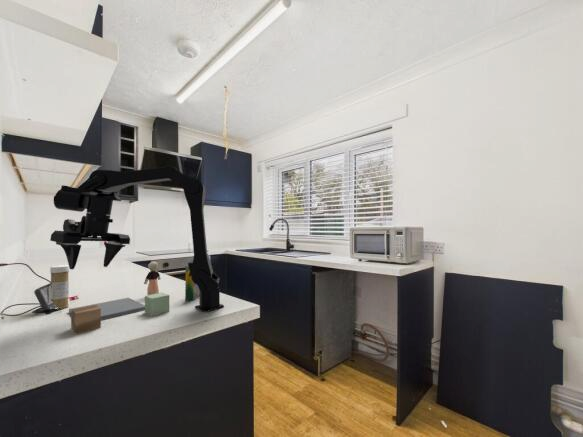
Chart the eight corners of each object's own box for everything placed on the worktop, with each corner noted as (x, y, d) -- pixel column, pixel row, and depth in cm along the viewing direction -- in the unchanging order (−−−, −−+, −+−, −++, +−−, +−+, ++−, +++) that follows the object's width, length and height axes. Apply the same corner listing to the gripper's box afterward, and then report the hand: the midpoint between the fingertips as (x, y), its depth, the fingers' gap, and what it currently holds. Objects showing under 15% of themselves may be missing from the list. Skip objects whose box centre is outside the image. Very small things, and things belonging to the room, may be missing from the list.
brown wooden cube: (100, 328, 67) (100, 308, 67) (75, 334, 64) (75, 313, 64) (95, 323, 71) (95, 304, 71) (71, 329, 67) (71, 309, 67)
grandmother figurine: (152, 299, 94) (152, 262, 94) (142, 299, 94) (142, 263, 94) (163, 293, 101) (163, 260, 102) (153, 293, 102) (153, 260, 102)
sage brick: (169, 311, 80) (169, 295, 80) (151, 316, 76) (151, 298, 76) (162, 308, 83) (161, 292, 83) (144, 312, 79) (144, 295, 79)
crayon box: (193, 300, 91) (193, 266, 91) (184, 300, 91) (184, 266, 91) (201, 295, 98) (201, 263, 99) (193, 295, 98) (193, 263, 99)
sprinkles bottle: (54, 306, 86) (54, 265, 86) (71, 305, 87) (71, 264, 88) (46, 311, 82) (47, 267, 82) (64, 309, 83) (65, 266, 83)
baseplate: (146, 309, 82) (146, 306, 82) (82, 324, 70) (82, 320, 70) (128, 300, 92) (128, 297, 92) (68, 312, 80) (68, 309, 80)
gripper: (110, 215, 89) (102, 261, 88) (42, 207, 71) (31, 265, 70) (134, 218, 85) (126, 267, 84) (69, 211, 67) (58, 272, 66)
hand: (89, 267), depth 76 cm, fingers open, 9 cm apart
